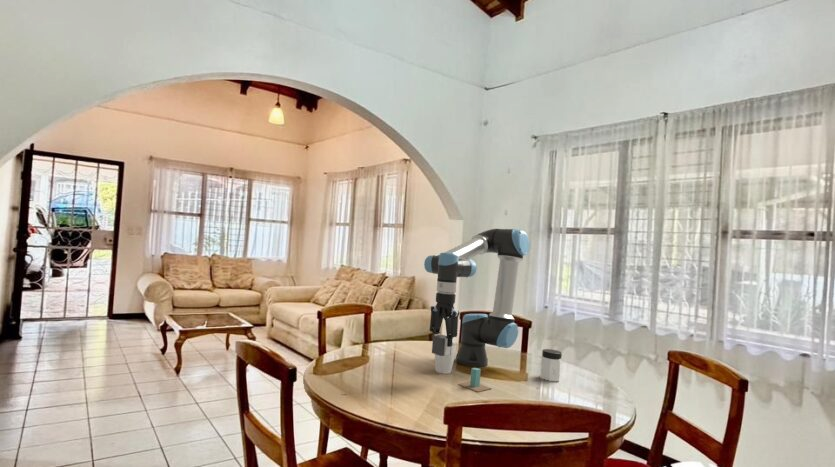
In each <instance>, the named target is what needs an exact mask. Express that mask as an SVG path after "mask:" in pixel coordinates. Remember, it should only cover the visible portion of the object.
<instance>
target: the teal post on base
mask: <svg viewBox="0 0 835 467" xmlns="http://www.w3.org/2000/svg"><path fill="white" fill-rule="evenodd" d="M481 370H482V369H481V368H479V367H478V368H477V367H472V368H471V370H470V380H469V381H465V382H460V383H458V386H460V387H463V388H466V389H468V390H471V391H474V392H476V393H480V392H485V391H486V392H487V391H488V390H489V391H490V390H492V388H491V387H490V386H486V385H484V384H482V383H481Z"/></svg>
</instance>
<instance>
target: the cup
mask: <svg viewBox="0 0 835 467" xmlns="http://www.w3.org/2000/svg"><path fill="white" fill-rule="evenodd" d="M456 349H457V344H456V343H454V342H452V346H451V355H445V356H439V355H436V354H434V361H435V371H436V373H439V374H444V375H447V374H452V369H453V365H454V361H455V358H456V353H457V352H456V351H457V350H456Z"/></svg>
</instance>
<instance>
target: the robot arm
mask: <svg viewBox="0 0 835 467" xmlns="http://www.w3.org/2000/svg"><path fill="white" fill-rule="evenodd" d="M529 252H530V238H529V236H528V234H527V232H525V231H524V230H522V229H515V228H492V229H488V230H485V231H482V232H480V233H477V234H475V235H474V236H472V238H471V239H470V240H468V241H466V242H464V243H462V244H460V245H457V246H455V247H453V248H451V249H448V250H447V251H444V252H440V253H439V254H438V255H434V254H433V255H428V256H426V258H425V259H424V261H423V263H424V264H423V265H424V266H423V267H424V269H425V271H426V273H430V274H433V275H435V274H436V275H437V281H436V291H437V292H436V294H435V302H436V305H431V306H430V321H429V322H430V324H429V332H431V333H432V334H433V335H432V337H433V336H436V335H442V334H441V332H440V330H441V328H442V324H443V320H444V322H445V323H444V324H445V330H446V332H445V333H446V336H447V337H446V338H445V348H444V355H450V352H451V346H452V343H453V340H454V338H456V337H458V325H459V315H460V313H461V312H460V311H459V310H456V309H455V306H454V305H455V303H456V294H455V293H456V291H457V278H470V277H473V276H475V274H476V272H477V269H478V268H477V264H476V261H475V260H473V259H472V258H474V257H476V256H478V255H484V254H486V253H493V254H494V253H495V254H497V258H498V259H499V264H498V265H499V266H498V271H497V272H498V273H497V280H496V287H495V294H494V301H493V306H492V308H493V309H492V312H490V313H489V314H486V313H468V314H467V313H466V314H464V315H463V317H462V322H461V332H460V333H461V335H460V337H461V338H460V345H459V348H458V350H457V352H456V353H457V354H455V362H456V364H457V363H458V364H459V365H463V366H466V367H468V366H469V367H472V368H477V367H478V368H479V367H486V366H488V362H489V359H488V356H487V350H486V344H487V345H490V346H494V347H497V348H503V349H504V348H505V349H508V348H511V347H512V346H513V345H514V344H515V343H516V341H517V338H518V334H519V326H518V324H517V323H515V318H514V316H513V307H514V301H515V293H516V286H517V278H518V273H519V272H518V270H519V265H520V264H519V263H521V262H522V261H523V259H524V257H525V256H526V255H528V253H529Z"/></svg>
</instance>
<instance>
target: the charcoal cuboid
mask: <svg viewBox="0 0 835 467" xmlns="http://www.w3.org/2000/svg"><path fill="white" fill-rule="evenodd" d="M446 337H447V335H445V334H441V335H436V336H433V335H432V342H431V343H432V345H431V353H432V354H434V355H435V354H436V355H439V356H445V355H444V348H445V338H446ZM450 355H451V352H450Z"/></svg>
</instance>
